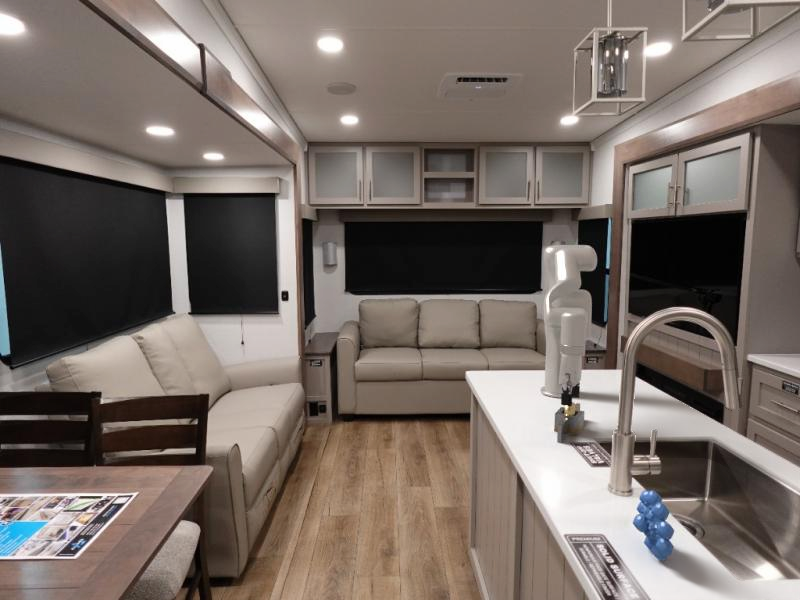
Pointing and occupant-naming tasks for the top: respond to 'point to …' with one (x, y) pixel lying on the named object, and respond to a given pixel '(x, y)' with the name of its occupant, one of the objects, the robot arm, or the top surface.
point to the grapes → (654, 524)
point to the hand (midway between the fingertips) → (570, 401)
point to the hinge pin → (570, 409)
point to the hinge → (568, 423)
